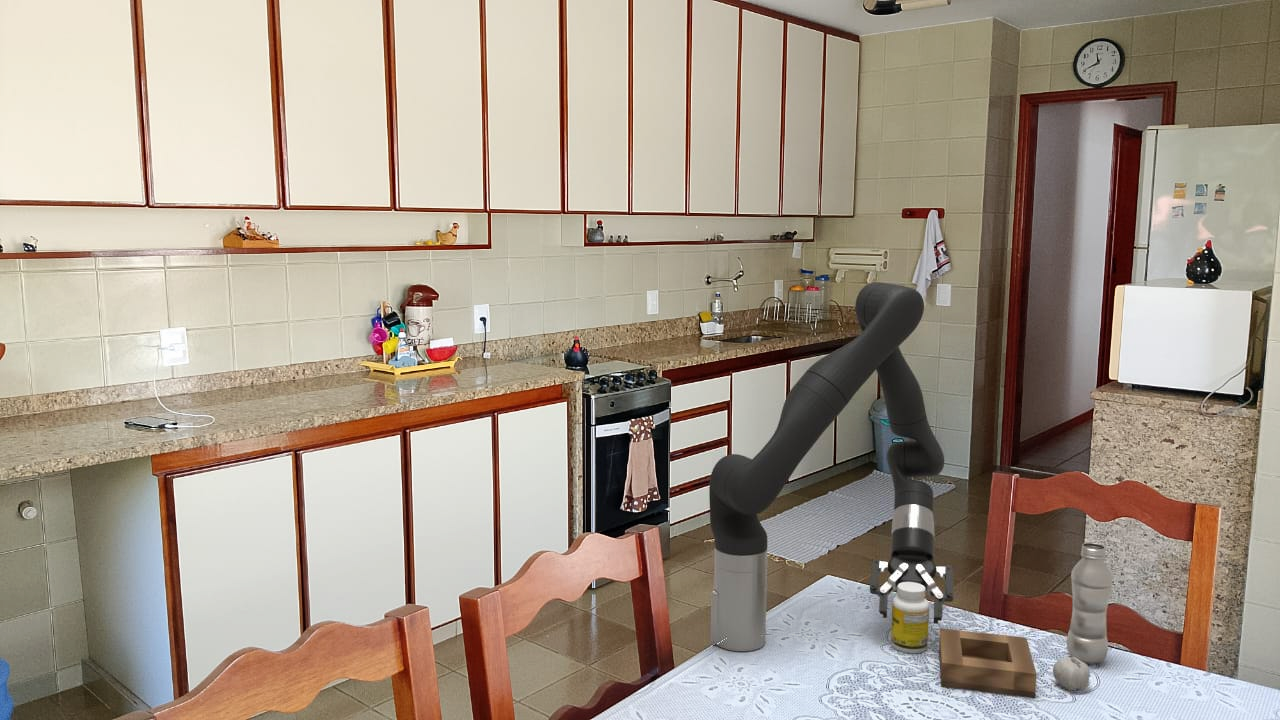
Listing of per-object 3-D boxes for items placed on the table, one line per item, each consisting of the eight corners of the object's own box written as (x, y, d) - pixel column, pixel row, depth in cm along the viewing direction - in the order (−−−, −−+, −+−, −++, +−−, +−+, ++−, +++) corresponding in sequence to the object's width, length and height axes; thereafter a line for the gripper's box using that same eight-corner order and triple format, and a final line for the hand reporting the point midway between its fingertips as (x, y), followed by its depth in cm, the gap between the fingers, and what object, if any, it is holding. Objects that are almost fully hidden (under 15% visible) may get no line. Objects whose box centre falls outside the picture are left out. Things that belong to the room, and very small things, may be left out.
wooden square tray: (941, 686, 153) (942, 662, 152) (938, 650, 166) (939, 628, 165) (1035, 698, 149) (1036, 673, 148) (1025, 660, 162) (1026, 637, 162)
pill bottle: (889, 638, 171) (892, 578, 169) (925, 641, 170) (928, 581, 168) (891, 652, 165) (894, 591, 163) (929, 656, 164) (931, 594, 162)
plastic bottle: (1066, 664, 160) (1073, 550, 158) (1064, 648, 167) (1071, 538, 164) (1108, 671, 158) (1116, 555, 155) (1105, 654, 164) (1113, 542, 162)
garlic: (1093, 696, 149) (1096, 665, 149) (1056, 693, 151) (1058, 662, 150) (1084, 679, 155) (1086, 649, 155) (1048, 676, 156) (1050, 646, 156)
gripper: (872, 522, 174) (868, 605, 165) (954, 528, 170) (954, 614, 161) (873, 541, 180) (868, 623, 170) (952, 548, 176) (952, 632, 167)
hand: (910, 619), depth 166 cm, fingers open, 8 cm apart
